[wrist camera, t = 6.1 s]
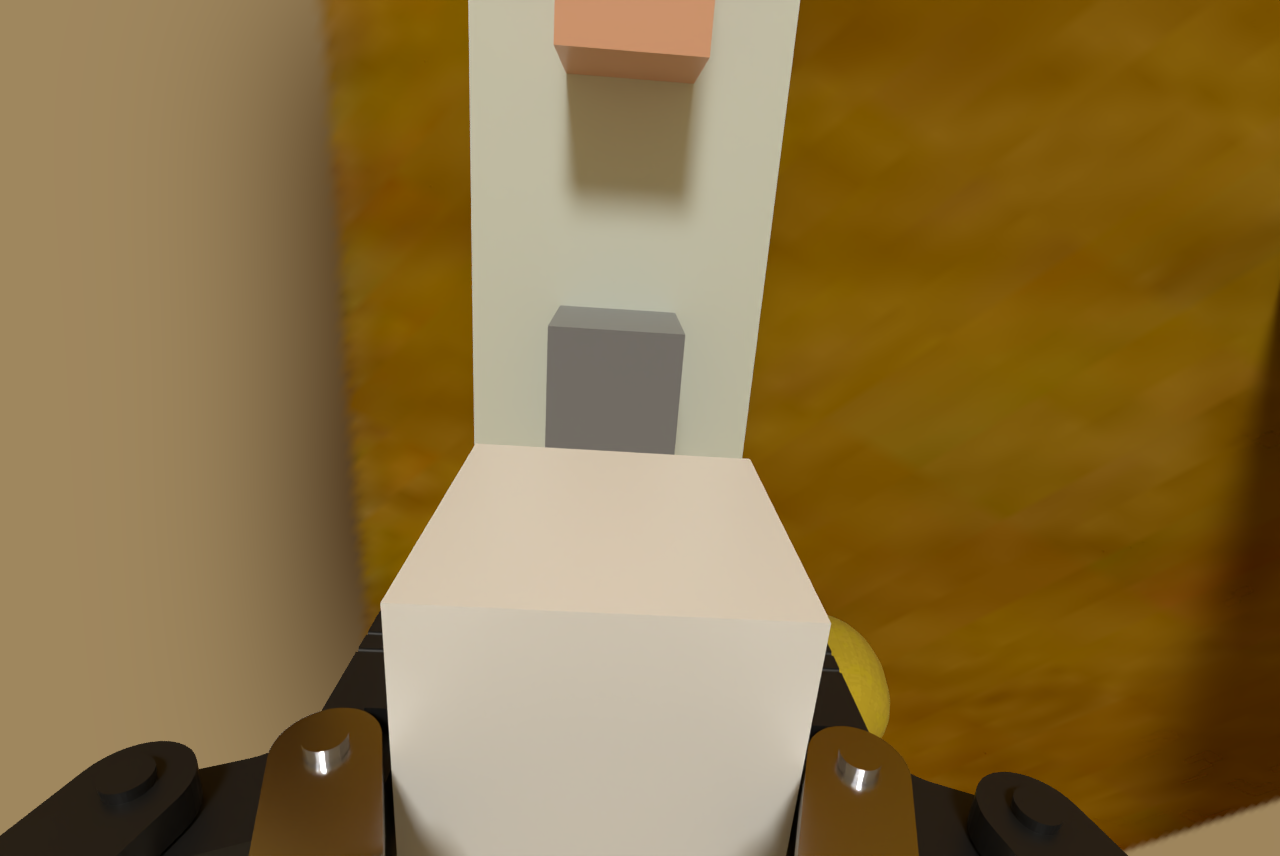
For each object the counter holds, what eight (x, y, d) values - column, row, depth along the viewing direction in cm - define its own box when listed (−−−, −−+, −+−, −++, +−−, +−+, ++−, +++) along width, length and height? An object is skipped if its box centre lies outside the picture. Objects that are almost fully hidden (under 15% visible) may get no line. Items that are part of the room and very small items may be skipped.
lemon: (782, 567, 33) (830, 675, 26) (873, 609, 34) (945, 725, 27) (727, 649, 35) (757, 774, 27) (816, 687, 36) (868, 819, 28)
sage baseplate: (735, 465, 31) (739, 475, 30) (480, 451, 31) (474, 461, 30) (808, -124, 24) (817, -140, 23) (473, -157, 23) (465, -175, 22)
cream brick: (711, 743, 14) (755, 1012, 9) (478, 736, 14) (406, 1006, 9) (749, 459, 12) (831, 622, 7) (475, 443, 11) (380, 602, 7)
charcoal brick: (663, 455, 30) (670, 500, 25) (556, 449, 30) (544, 494, 25) (675, 312, 28) (685, 334, 23) (560, 305, 27) (547, 326, 23)
